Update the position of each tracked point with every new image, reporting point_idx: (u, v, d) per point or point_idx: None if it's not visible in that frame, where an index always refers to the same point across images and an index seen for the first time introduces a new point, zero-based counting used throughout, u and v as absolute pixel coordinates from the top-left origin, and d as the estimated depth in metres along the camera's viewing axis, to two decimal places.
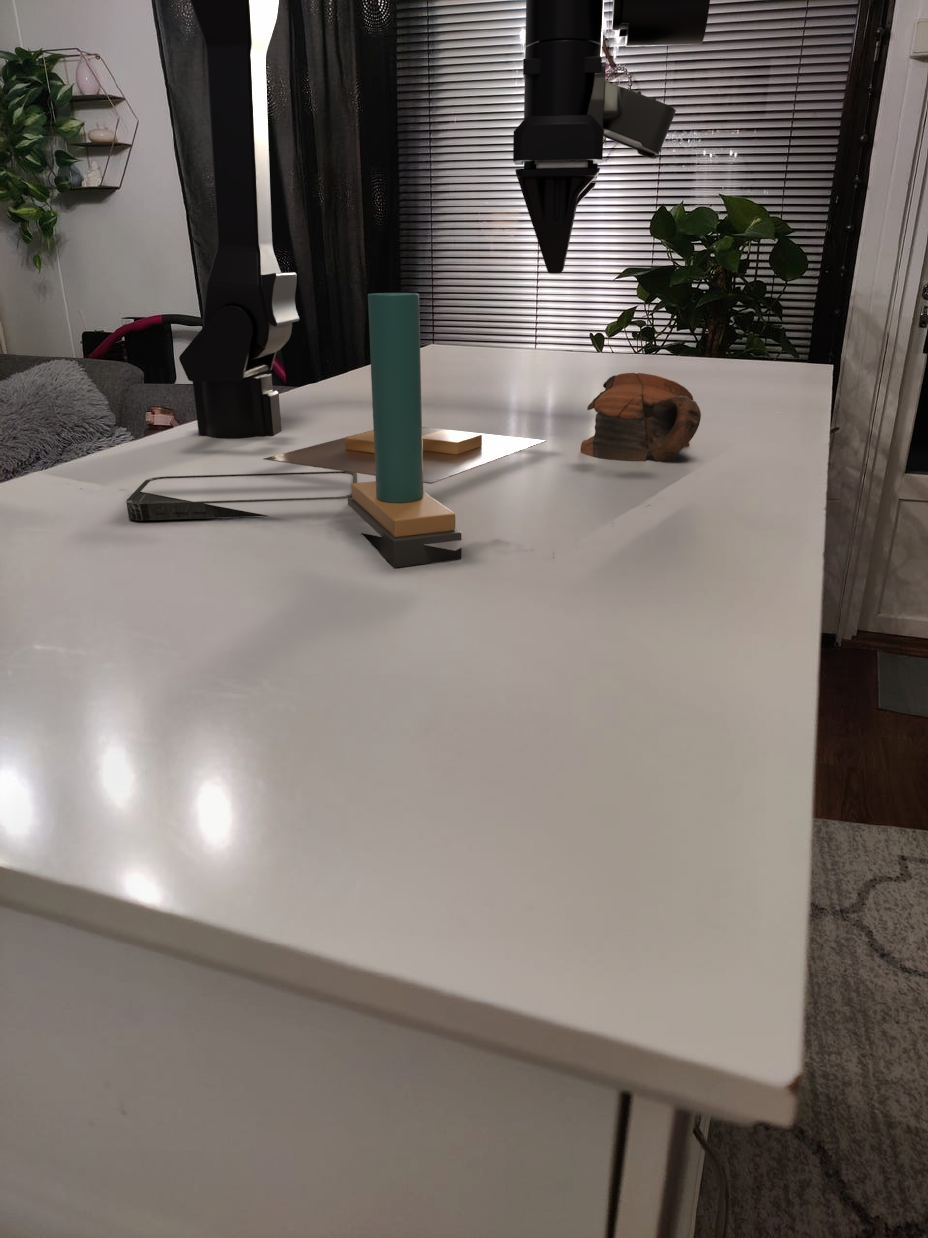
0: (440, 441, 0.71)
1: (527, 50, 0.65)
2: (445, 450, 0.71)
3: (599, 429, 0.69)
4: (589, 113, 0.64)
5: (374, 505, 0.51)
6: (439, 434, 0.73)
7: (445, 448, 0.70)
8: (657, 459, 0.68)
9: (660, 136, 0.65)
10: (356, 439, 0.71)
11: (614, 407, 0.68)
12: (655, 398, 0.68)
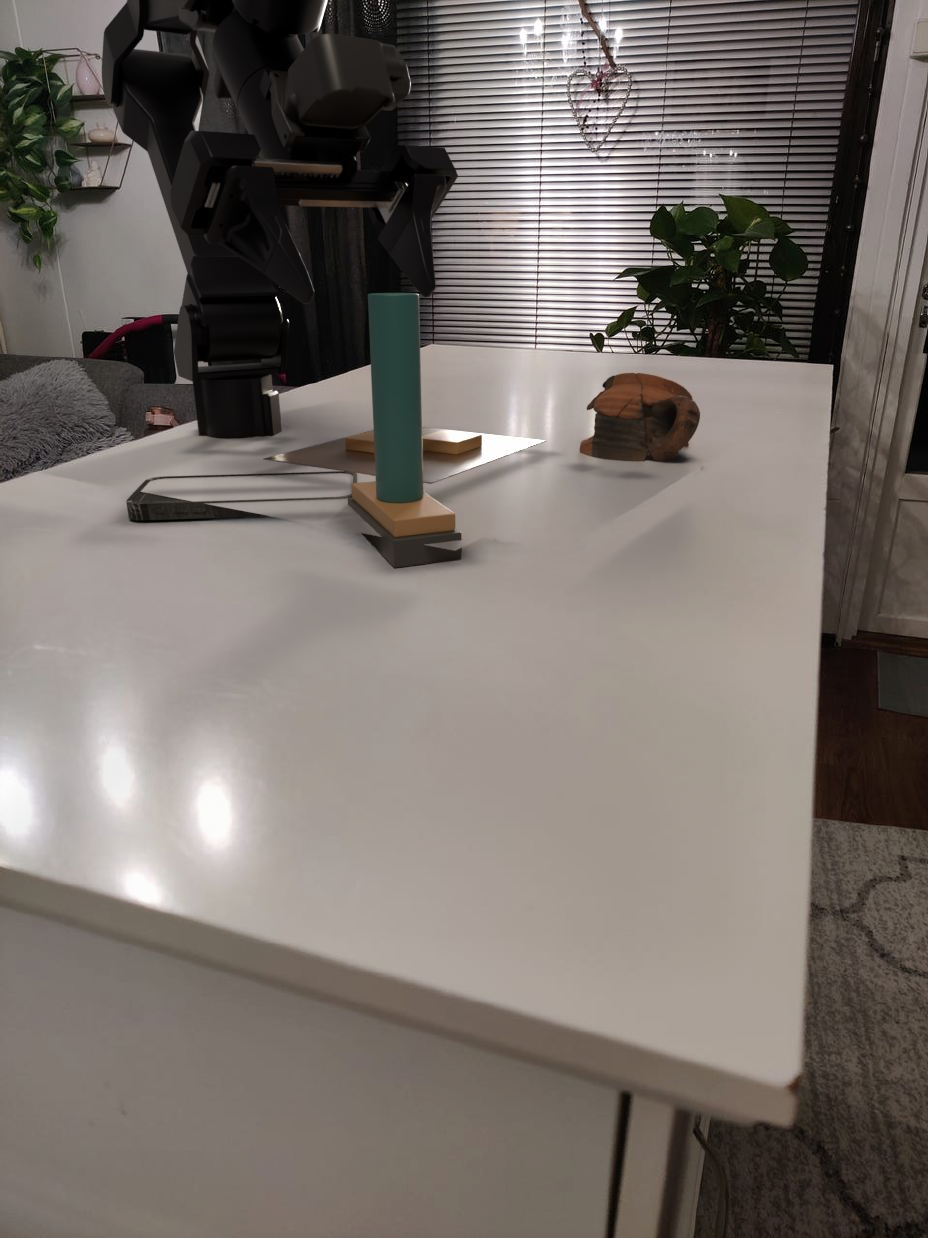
0: (440, 441, 0.71)
1: None
2: (445, 450, 0.71)
3: (598, 429, 0.69)
4: (276, 126, 0.54)
5: (374, 505, 0.51)
6: (439, 434, 0.73)
7: (445, 448, 0.70)
8: (656, 459, 0.68)
9: (327, 72, 0.50)
10: (356, 439, 0.71)
11: (613, 407, 0.68)
12: (654, 398, 0.68)
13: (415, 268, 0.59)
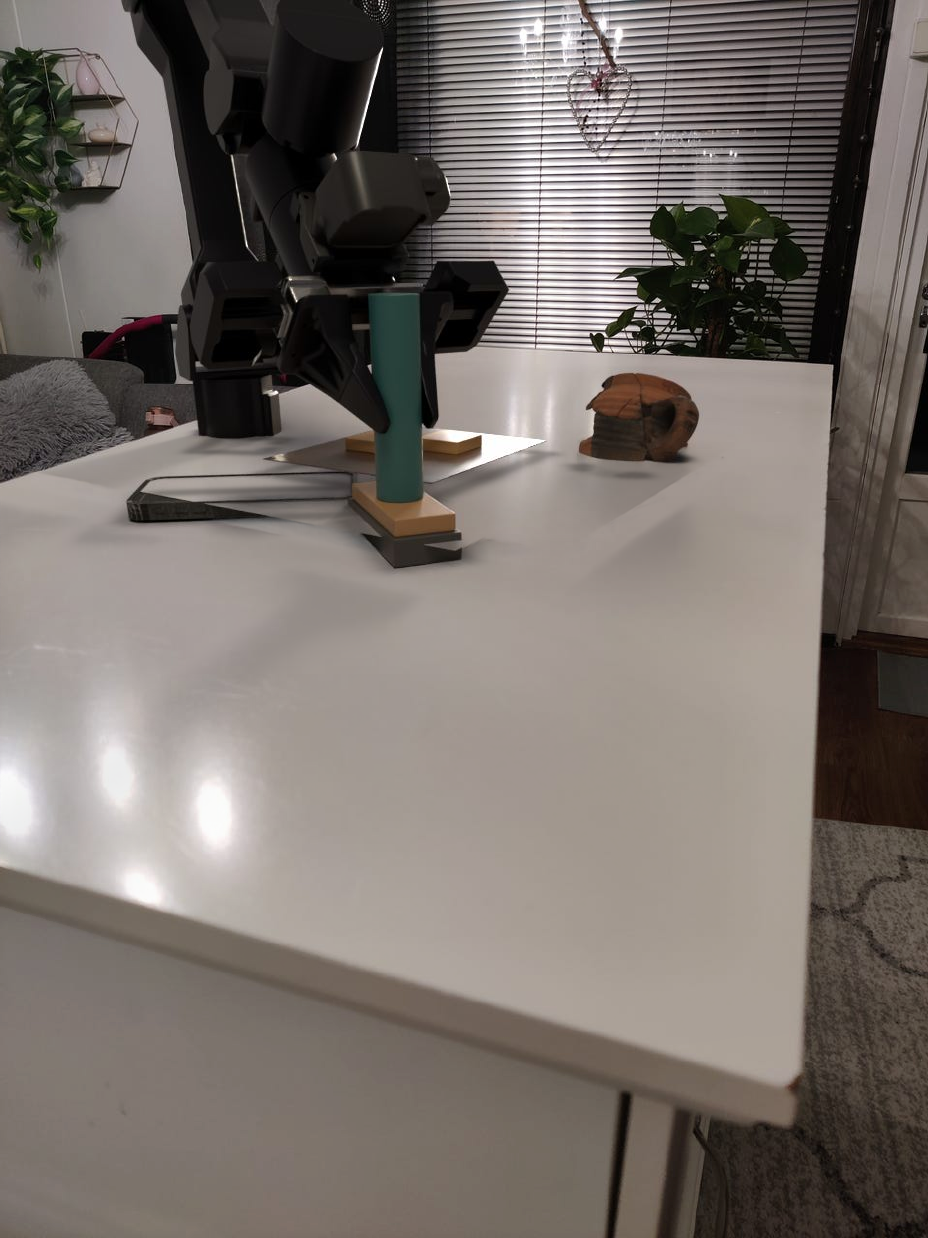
0: (440, 441, 0.71)
1: None
2: (445, 450, 0.71)
3: (598, 429, 0.69)
4: (305, 250, 0.49)
5: (374, 505, 0.51)
6: (439, 434, 0.73)
7: (445, 448, 0.70)
8: (655, 459, 0.68)
9: (353, 192, 0.45)
10: (356, 439, 0.71)
11: (612, 407, 0.68)
12: (653, 398, 0.68)
13: None
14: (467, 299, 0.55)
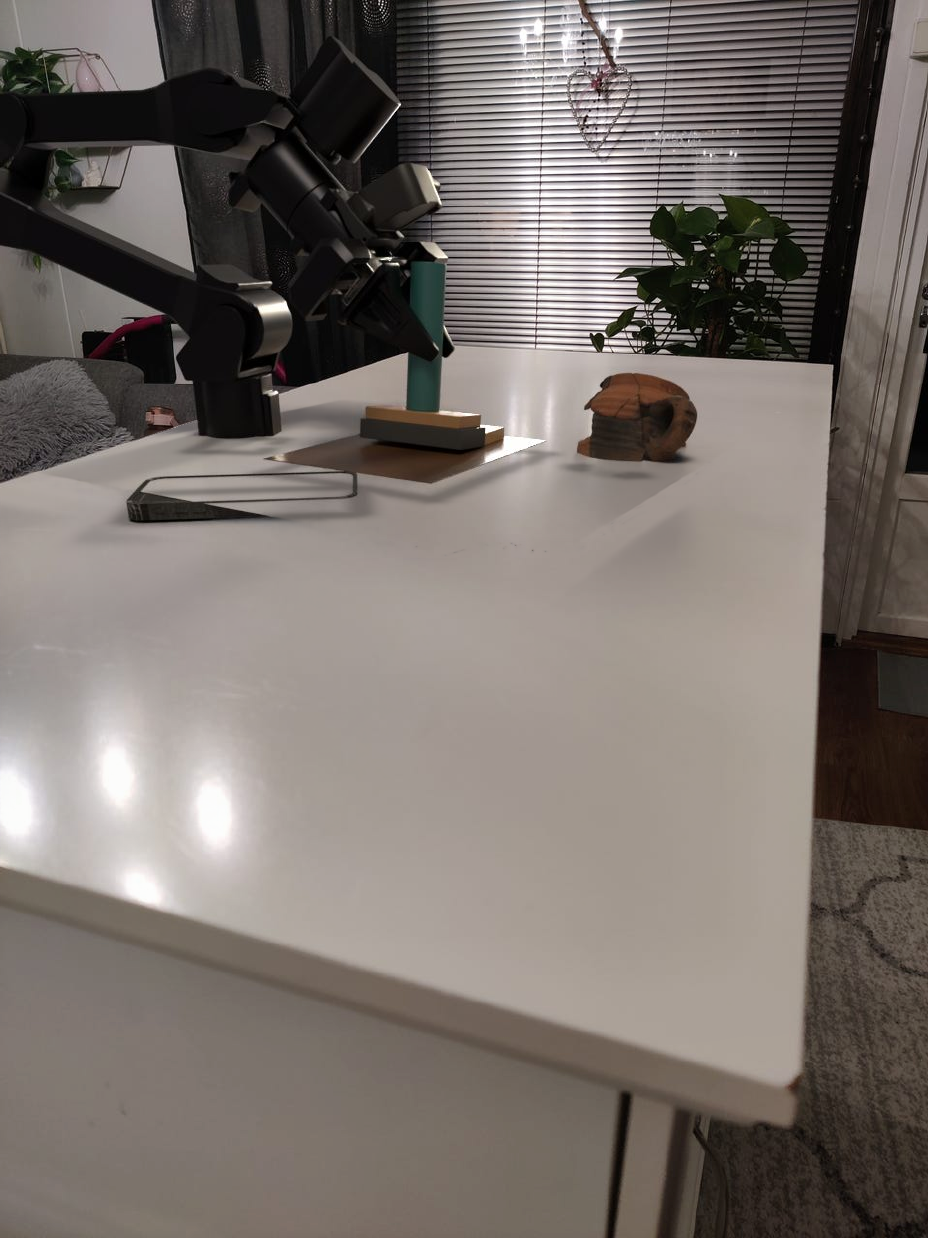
0: None
1: (292, 237, 0.71)
2: None
3: (596, 429, 0.69)
4: (352, 231, 0.67)
5: (418, 413, 0.71)
6: None
7: None
8: (653, 459, 0.68)
9: (412, 191, 0.65)
10: None
11: (610, 407, 0.68)
12: (651, 398, 0.68)
13: None
14: None
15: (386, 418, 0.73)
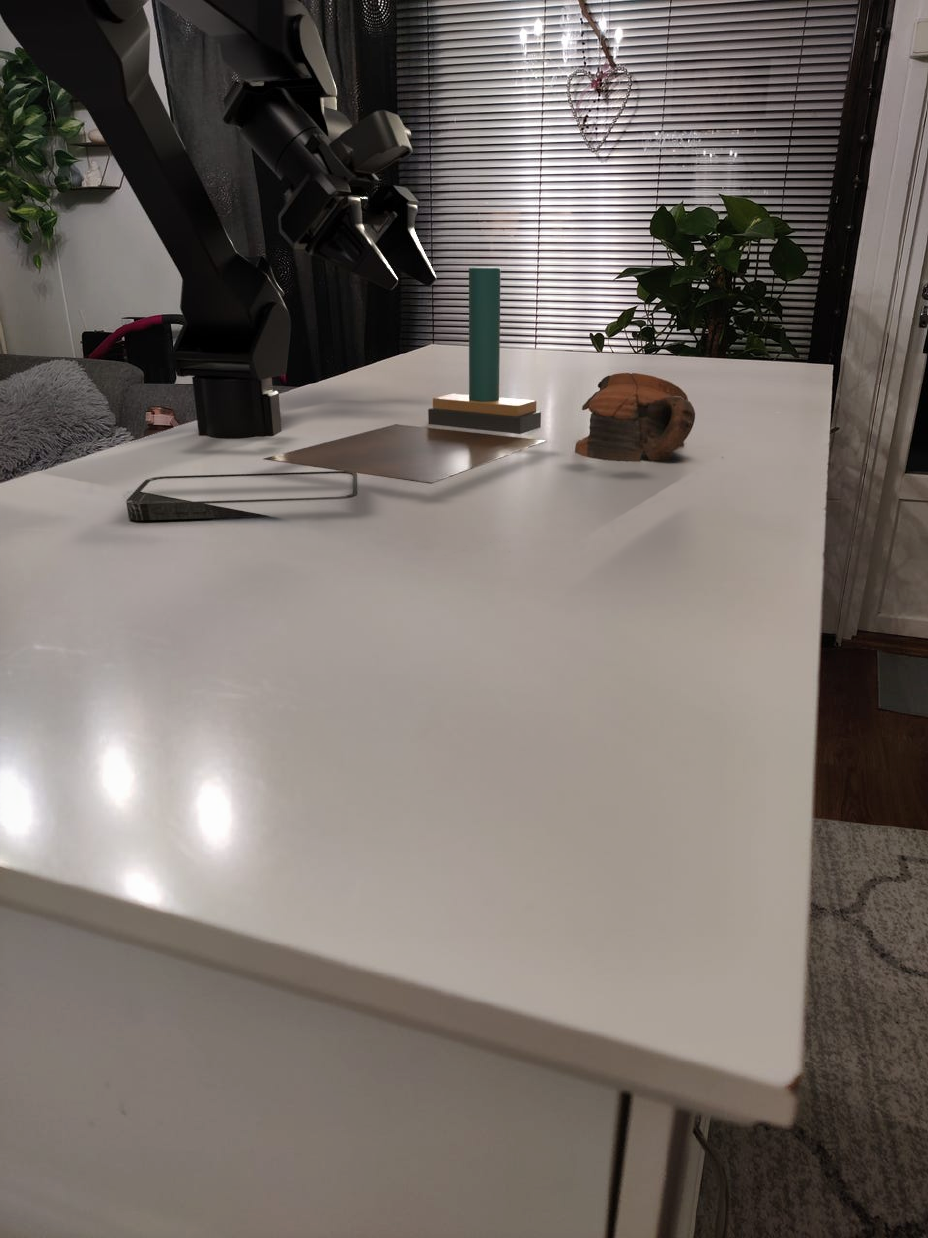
0: None
1: (279, 178, 0.80)
2: None
3: (594, 429, 0.69)
4: (333, 171, 0.76)
5: (481, 403, 0.80)
6: None
7: None
8: (651, 459, 0.68)
9: (386, 135, 0.75)
10: None
11: (608, 407, 0.68)
12: (649, 398, 0.68)
13: (417, 267, 0.84)
14: None
15: (452, 408, 0.82)
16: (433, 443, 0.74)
